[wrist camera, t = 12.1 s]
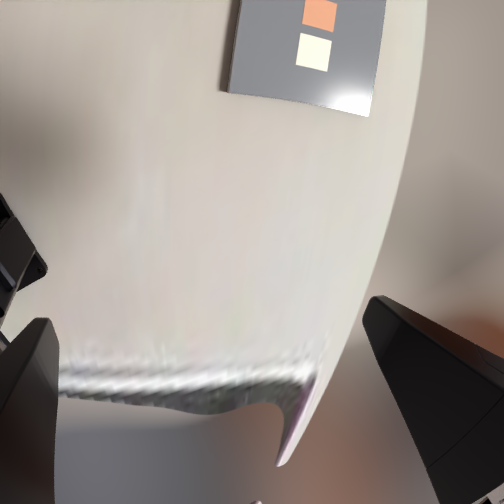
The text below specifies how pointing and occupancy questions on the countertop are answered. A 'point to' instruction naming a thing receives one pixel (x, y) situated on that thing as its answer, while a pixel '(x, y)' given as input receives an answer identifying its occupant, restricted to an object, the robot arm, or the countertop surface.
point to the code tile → (308, 51)
